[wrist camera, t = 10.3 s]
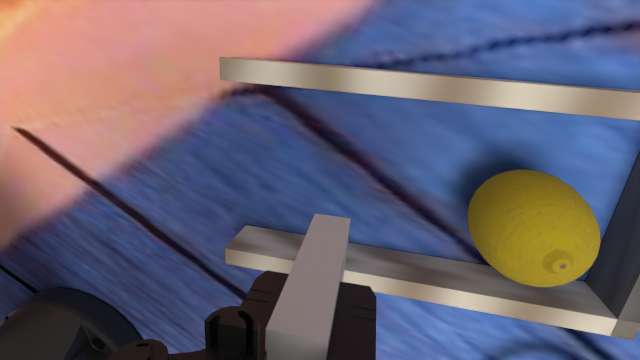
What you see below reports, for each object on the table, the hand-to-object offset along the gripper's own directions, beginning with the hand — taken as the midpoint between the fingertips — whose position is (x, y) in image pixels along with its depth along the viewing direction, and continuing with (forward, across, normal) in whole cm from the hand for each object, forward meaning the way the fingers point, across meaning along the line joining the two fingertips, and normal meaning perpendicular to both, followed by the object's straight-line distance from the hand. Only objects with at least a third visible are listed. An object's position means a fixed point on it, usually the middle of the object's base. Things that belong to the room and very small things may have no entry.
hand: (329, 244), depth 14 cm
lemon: (+9, +10, 0) cm, 14 cm away
